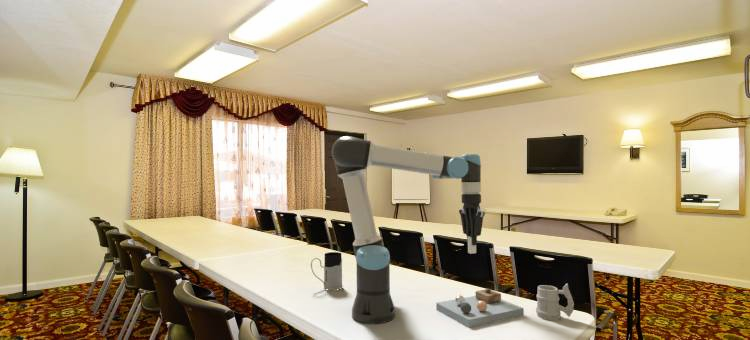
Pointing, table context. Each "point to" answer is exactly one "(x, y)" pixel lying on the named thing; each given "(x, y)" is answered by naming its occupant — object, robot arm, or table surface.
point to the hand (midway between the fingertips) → (472, 252)
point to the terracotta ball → (481, 306)
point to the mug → (552, 302)
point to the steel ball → (459, 300)
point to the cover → (488, 295)
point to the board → (476, 317)
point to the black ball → (465, 307)
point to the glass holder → (332, 271)
